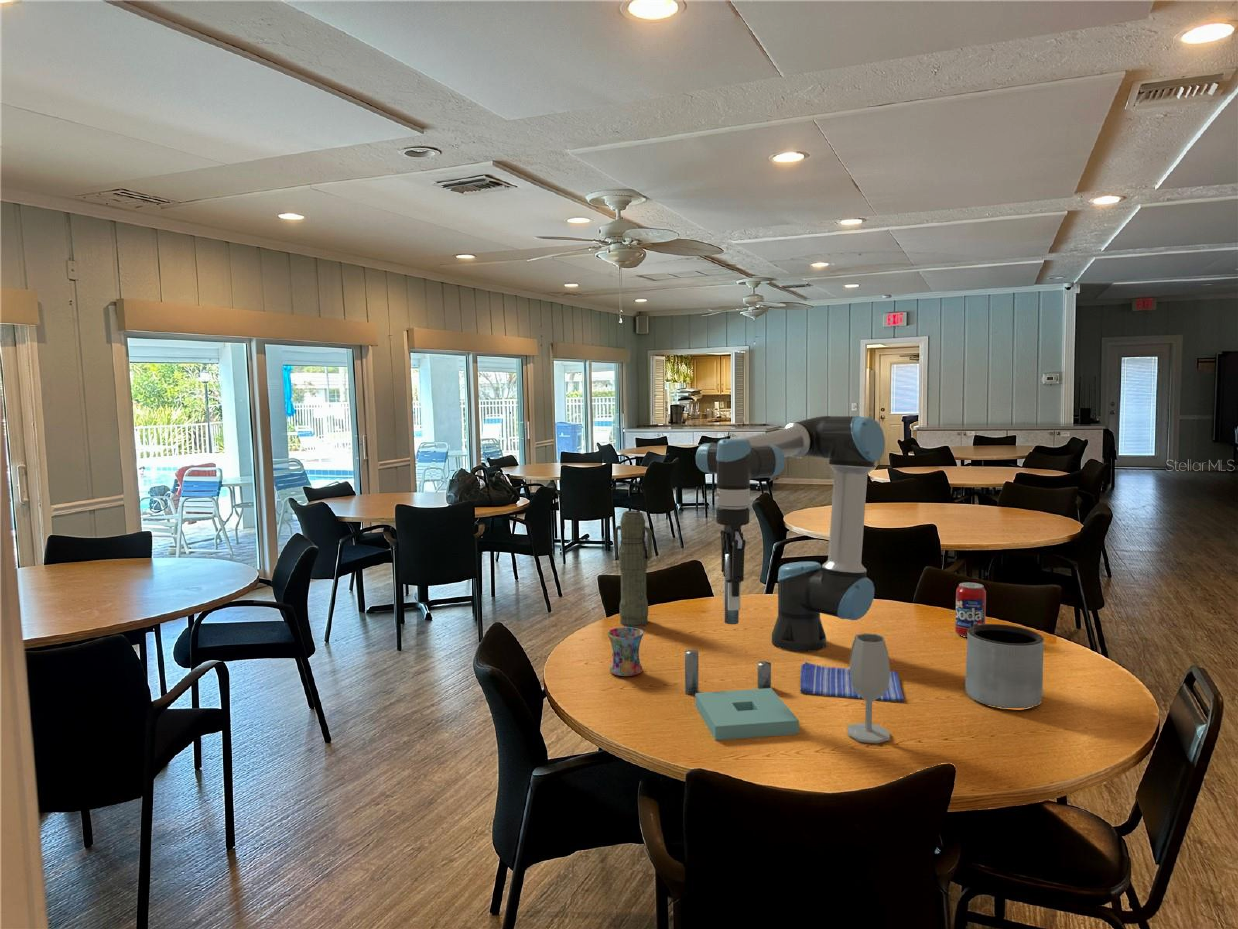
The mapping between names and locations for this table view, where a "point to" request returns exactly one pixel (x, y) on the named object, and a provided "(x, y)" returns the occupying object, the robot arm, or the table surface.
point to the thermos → (633, 568)
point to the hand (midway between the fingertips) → (731, 607)
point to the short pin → (764, 675)
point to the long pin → (730, 615)
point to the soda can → (969, 607)
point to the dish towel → (841, 683)
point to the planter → (1004, 666)
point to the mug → (625, 650)
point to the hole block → (745, 714)
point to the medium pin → (691, 672)
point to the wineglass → (869, 683)
